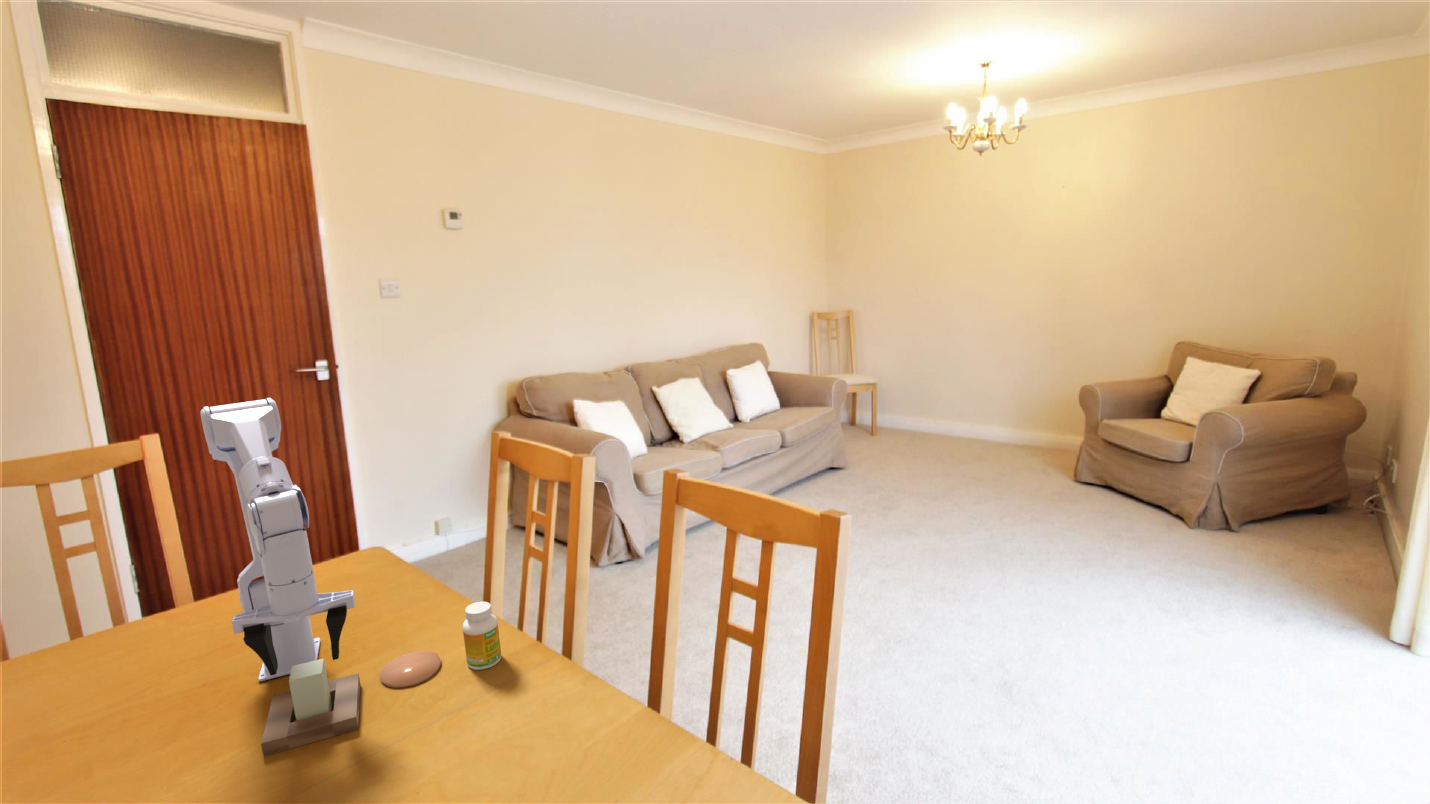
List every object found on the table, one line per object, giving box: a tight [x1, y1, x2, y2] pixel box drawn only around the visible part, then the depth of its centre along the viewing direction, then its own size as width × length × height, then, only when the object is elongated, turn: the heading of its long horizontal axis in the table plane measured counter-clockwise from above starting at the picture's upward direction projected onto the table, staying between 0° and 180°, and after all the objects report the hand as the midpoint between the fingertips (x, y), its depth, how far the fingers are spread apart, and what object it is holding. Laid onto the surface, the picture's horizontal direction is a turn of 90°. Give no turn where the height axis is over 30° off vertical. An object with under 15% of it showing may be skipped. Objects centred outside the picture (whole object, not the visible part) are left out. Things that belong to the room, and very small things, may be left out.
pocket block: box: [260, 673, 362, 757], centre depth 98 cm, size 11×11×2 cm
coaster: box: [379, 650, 442, 689], centre depth 109 cm, size 9×9×1 cm
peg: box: [288, 658, 333, 721], centre depth 98 cm, size 4×4×8 cm
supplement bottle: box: [462, 601, 502, 671], centre depth 110 cm, size 5×5×10 cm
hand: (305, 663), depth 97 cm, fingers open, 7 cm apart
